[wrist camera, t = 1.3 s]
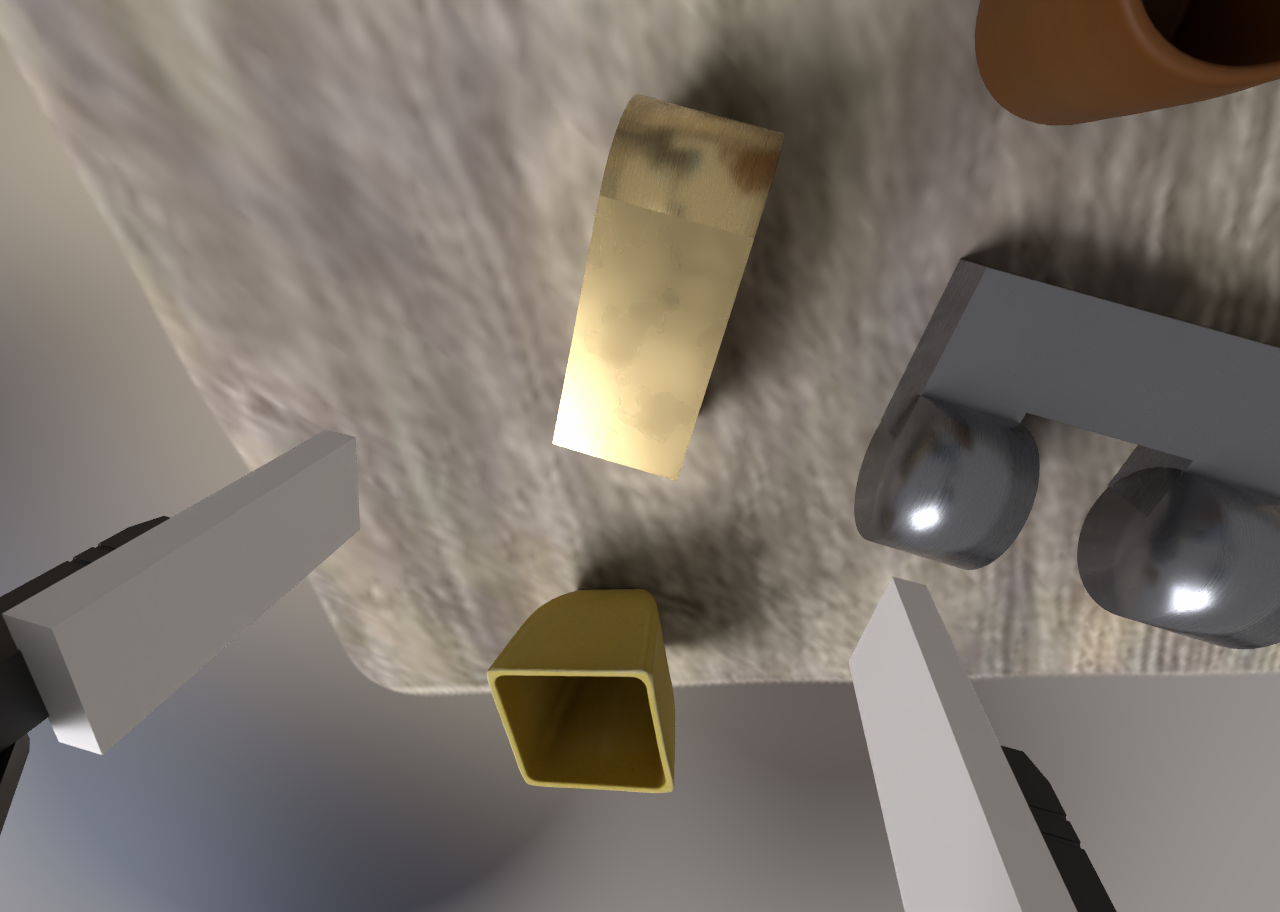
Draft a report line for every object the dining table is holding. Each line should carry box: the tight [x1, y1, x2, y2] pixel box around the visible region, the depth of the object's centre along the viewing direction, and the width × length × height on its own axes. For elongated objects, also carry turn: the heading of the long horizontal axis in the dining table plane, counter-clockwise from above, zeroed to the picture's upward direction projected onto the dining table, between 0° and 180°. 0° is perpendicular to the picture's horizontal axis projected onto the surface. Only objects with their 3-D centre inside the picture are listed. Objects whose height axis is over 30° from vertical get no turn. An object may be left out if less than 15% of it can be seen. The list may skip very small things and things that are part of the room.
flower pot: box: [487, 589, 675, 793], centre depth 33 cm, size 9×9×9 cm
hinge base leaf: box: [854, 259, 1280, 649], centre depth 24 cm, size 12×16×7 cm
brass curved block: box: [553, 94, 784, 481], centre depth 24 cm, size 14×6×7 cm, turn 166°
